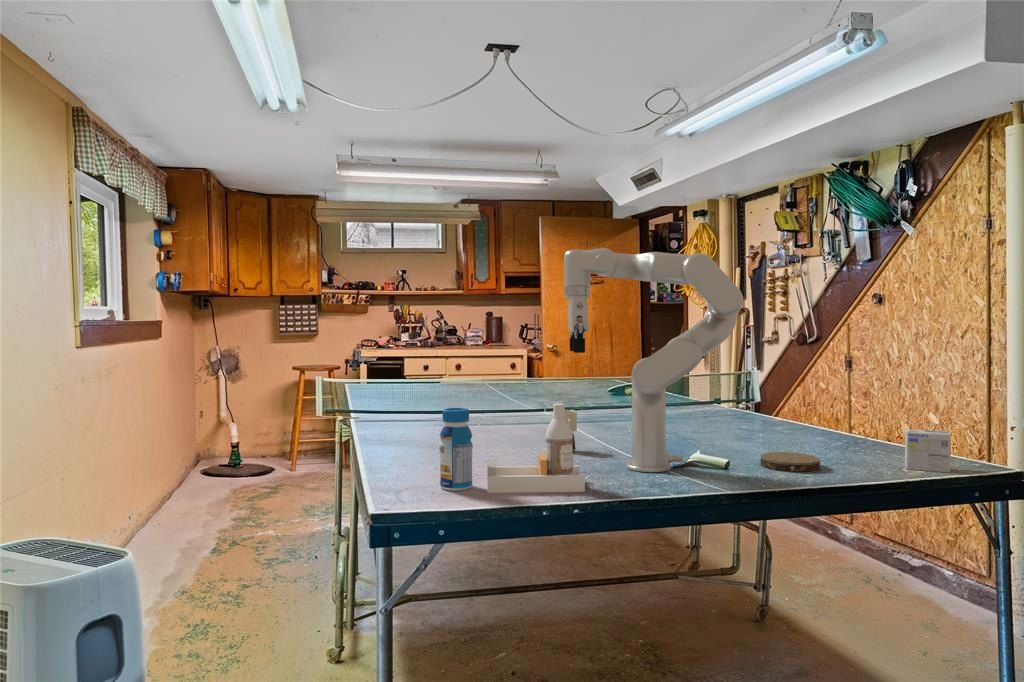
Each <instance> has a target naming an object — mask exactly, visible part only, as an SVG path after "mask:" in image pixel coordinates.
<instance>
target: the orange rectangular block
mask: <svg viewBox="0 0 1024 682" xmlns="http://www.w3.org/2000/svg"><path fill="white" fill-rule="evenodd" d="M537 466H538V475H547V459H546V457H545V453H543V452H541V453H537Z"/></svg>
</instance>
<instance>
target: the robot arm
mask: <svg viewBox="0 0 1024 682" xmlns="http://www.w3.org/2000/svg"><path fill="white" fill-rule="evenodd" d="M591 274H595V275H598V277H599V276H600V277H603V278H613V279H614V278H615V279H622V280H623V279H624V280H634V281H635V280H636V281H640V282H641V281H642V282H649V283H651V282H652V283H660V284H661V283H662V284H672V285H680V286H692V287H694V289H695V290H696V291H697V292H698V293H699V294H700V296H701V297H702V298H703V299H704V300H705V301H706V303H707V312H706V314H705V316H704V317H703V318H702V319H701V320H700V321H698V322H697V323H696V324H694V325H693V326H692V327H690V328H689V329H687V330H685V331H684V332H682V333H681V334H679V335H678V336H676V337H674V338H672V339H671V340H669V341H668V342H667V344H666V345H665V346H663V347H661V348H660V349H658V350H656V351H655V352H654V353H652V354H651V355H650V356H648V357H644V358H641V359H639V360H638V361H637V362H635V364H634V365H633V367H632V370H631V460H628V461H627V462H626V468H628V470H632V471H635V472H642V473H643V472H644V473H660V472H661V473H662V472H668V471H670V470H671V469H672V464H671V463H673V462H675V463H680V462H682V463H683V460H684V458H683V457H684V456H683V454H671V453H669V452H667V450H666V448H667V447H666V446H667V445H666V444H667V443H666V442H667V436H666V433H667V427H666V422H667V418H666V415H667V404H666V402H667V398H666V397H667V396H666V394H667V393H666V392H667V390H666V388H668V387H670V386H671V385H673V384H674V383H676V382H677V381H679V380H680V379H682V378H683V377H685V376H686V375H687V374H689V373H690V372H692V371H693V370H695V368H696V367H698V365H700V364H699V363H700V362H701V359H702V357H704V356H705V355H707V354H709V353H710V352H711V351H713V350H714V349H716V348H718V346H720V345H721V344H723V343H724V342H725V341H726V340H727V339H728V338H729V337H730V335H732V333H733V330H734V329H735V326H736V324H737V320H738V313H739V312H740V311H741V309H742V307H743V305H744V296H743V294H742V291H741V290H740V288H739V286H738V285H736V283H734V281H733V280H732V279H730V278H729V276H728V275H727V274H726V273H725V272H724V271H723V270H722V269H721V268H720V267H719V265H718V264H717V263H716V262H715V260H713V258H712V257H710V256H709V255H707V254H705V253H693V254H681V253H670V252H669V253H668V252H661V251H660V252H659V251H649V252H644V253H634V254H633V253H620V252H614V251H613V250H611V249H609V248H607V247H600V248H594V249H588V250H587V249H586V250H585V249H570V250H567V251H565V253H564V255H563V278H564V280H563V284H564V285H563V295H564V296H563V299H567V321H568V322H567V325H568V331H569V333H570V334H569V335H570V336H569V352H573V353H575V354H576V353H578V354H579V353H580V354H584V353H586V338H585V337H586V335H585V333H587V332H588V331H589V330H590V329H589V325H590V324H589V306H588V305H589V304H588V299H591ZM669 463H670V464H671V465H669Z"/></svg>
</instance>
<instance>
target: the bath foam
mask: <svg viewBox="0 0 1024 682" xmlns="http://www.w3.org/2000/svg"><path fill="white" fill-rule="evenodd" d="M552 407H553V410H552V412H553V415H552V416H553V418H552V420H551V421H550V423H549V425H548V426H547V428H546V432H545V440H544V441H545V442H544V443H545V444H544V445H545V447H544V448H545V453H544V454H545V457H546V459H547V475H573V465H574V462H573V461H574V453H573V452H574V450H573V435H572V433H573V432H572V431H571V428H570V426H569V424H568V423H567V421H566V420H565V410H566V409H565V408H566V406H565V403H554V404H553V406H552Z"/></svg>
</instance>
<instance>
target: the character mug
mask: <svg viewBox="0 0 1024 682" xmlns="http://www.w3.org/2000/svg"><path fill="white" fill-rule="evenodd" d="M577 412H578V411H575V410H571V409H570V410H567V409H565V420H566V421H567V423H568V424H569V426H570V428H571V431H572V435H573V451H575V450H576V441H575V435H574V433H575V432H577V430H578V429H577V428H578V421H577V420H578V416H577V415H578V414H577Z"/></svg>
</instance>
